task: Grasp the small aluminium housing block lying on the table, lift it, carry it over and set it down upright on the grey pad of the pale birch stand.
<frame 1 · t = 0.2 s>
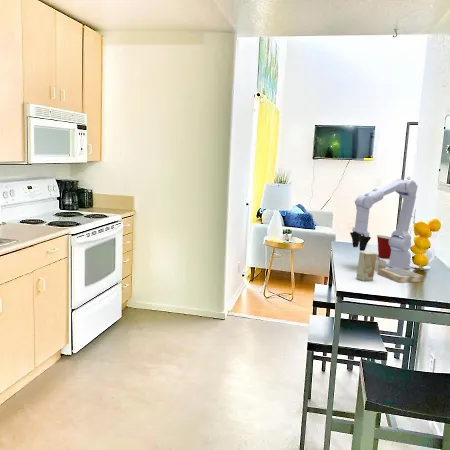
hand: (358, 248, 215), 10 cm above the table, tool pointing down, fingers open, 7 cm apart
housing: (375, 269, 219), on the table
skincare box: (364, 279, 198), on the table
stand: (399, 277, 206), on the table
plastic cup: (384, 257, 249), on the table
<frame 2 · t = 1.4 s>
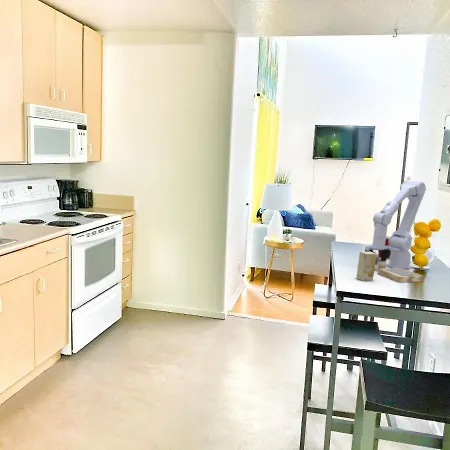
hand: (376, 264, 219), 2 cm above the table, tool pointing down, fingers open, 7 cm apart
nothing on the table moved.
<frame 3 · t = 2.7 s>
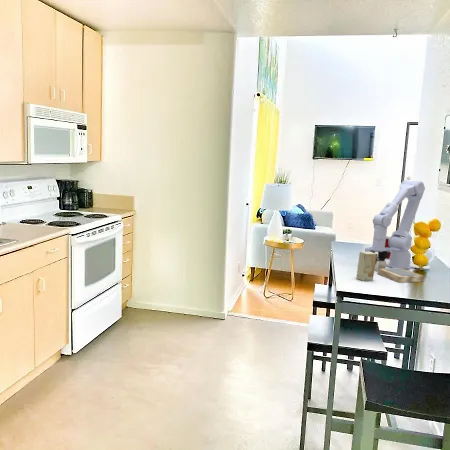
hand: (376, 266, 219), 1 cm above the table, tool pointing down, fingers closed on housing, 4 cm apart
housing: (375, 269, 219), on the table, touching gripper
everything else where it was.
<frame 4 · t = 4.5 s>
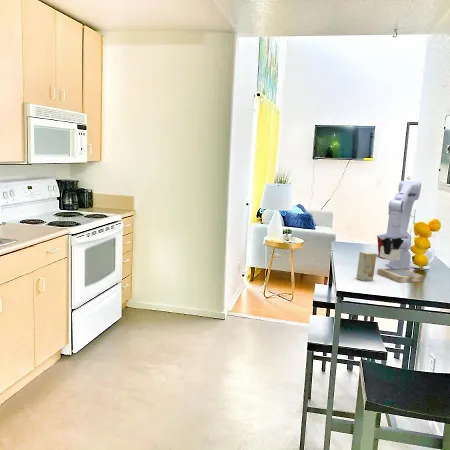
hand: (390, 254, 211), 9 cm above the table, tool pointing down, fingers closed on housing, 4 cm apart
housing: (389, 258, 211), point 7 cm above the table, touching gripper
everything else where it was.
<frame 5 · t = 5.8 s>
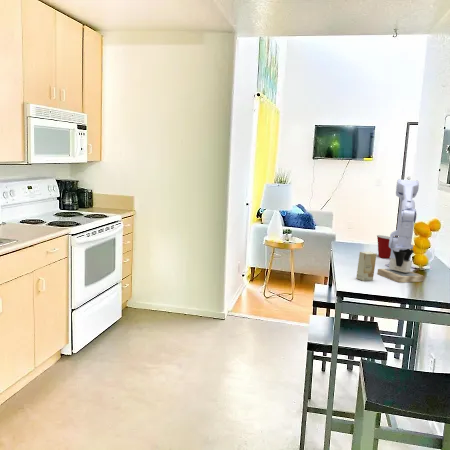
hand: (401, 265, 205), 6 cm above the table, tool pointing down, fingers closed on housing, 4 cm apart
housing: (399, 270, 206), point 3 cm above the table, touching gripper
everything else where it was.
when the fingers open (5 cm above the table, at t = 6.7 s): housing stays where it is, resting on stand.
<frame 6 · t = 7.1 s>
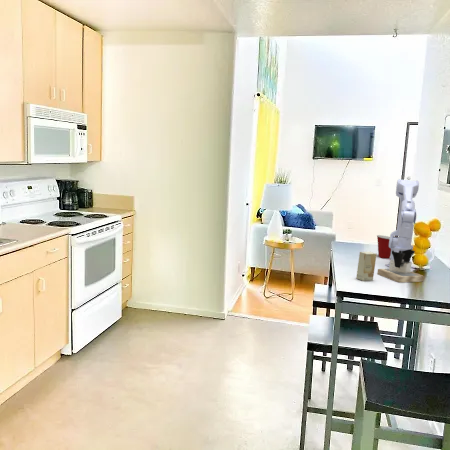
hand: (401, 266, 205), 5 cm above the table, tool pointing down, fingers open, 7 cm apart
housing: (399, 271, 206), point 3 cm above the table, touching stand
everything else where it was.
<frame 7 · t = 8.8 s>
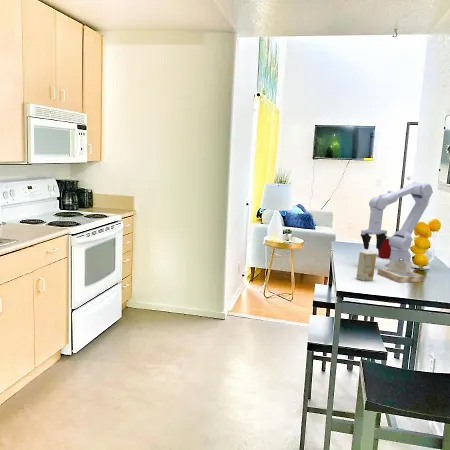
hand: (372, 249, 221), 9 cm above the table, tool pointing down, fingers open, 7 cm apart
nothing on the table moved.
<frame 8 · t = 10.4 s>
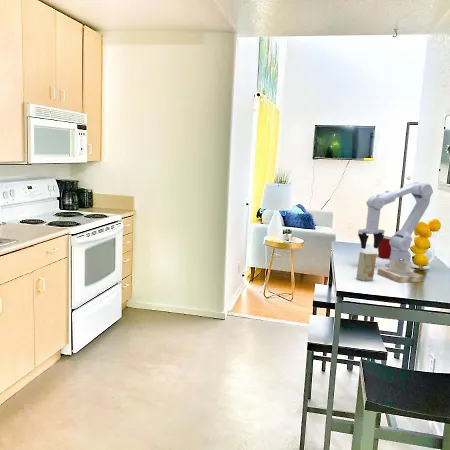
hand: (369, 248, 222), 9 cm above the table, tool pointing down, fingers open, 7 cm apart
nothing on the table moved.
at the end: housing inside the target area (0.4 cm from its centre), point 2.7 cm above the table; housing tilted 0°; the gripper is holding nothing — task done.
